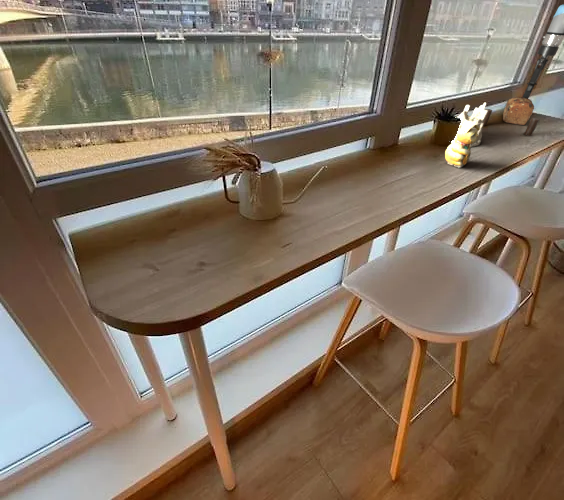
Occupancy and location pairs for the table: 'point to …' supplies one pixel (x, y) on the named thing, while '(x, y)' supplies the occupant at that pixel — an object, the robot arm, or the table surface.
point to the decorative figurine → (462, 145)
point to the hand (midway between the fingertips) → (525, 98)
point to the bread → (518, 110)
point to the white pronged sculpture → (476, 116)
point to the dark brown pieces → (528, 131)
